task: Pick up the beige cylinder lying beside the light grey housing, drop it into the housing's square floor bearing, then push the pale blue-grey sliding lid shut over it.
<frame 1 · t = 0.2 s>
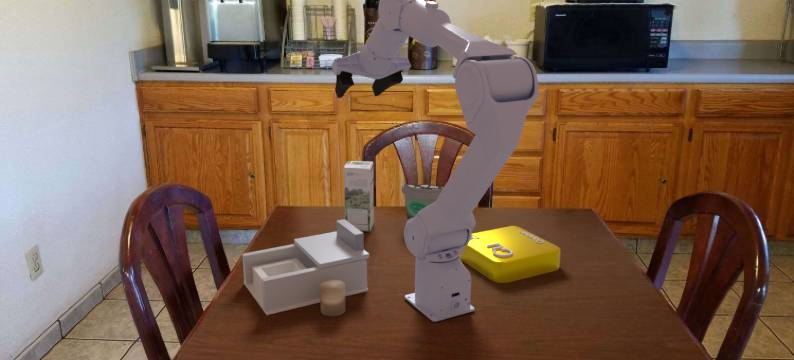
hand: (356, 92, 119), 31 cm above the table, tool tilted 50°, fingers open, 7 cm apart
housing: (305, 287, 111), on the table
beige cylinder: (333, 310, 103), on the table
lid: (330, 240, 111), point 8 cm above the table, slide at 9.0 cm
element tile: (507, 264, 122), on the table
food container: (425, 230, 138), on the table
syrup box: (359, 228, 139), on the table
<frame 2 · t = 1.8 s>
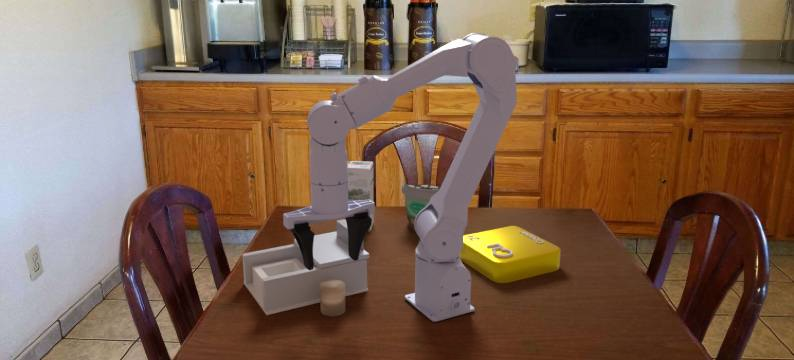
hand: (331, 262, 101), 8 cm above the table, tool pointing down, fingers open, 7 cm apart
nothing on the table moved.
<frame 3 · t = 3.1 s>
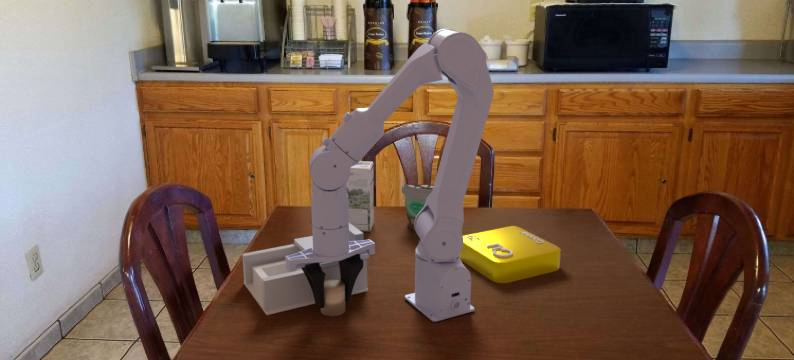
hand: (332, 302, 102), 1 cm above the table, tool pointing down, fingers closed on beige cylinder, 4 cm apart
beige cylinder: (333, 310, 103), on the table, touching gripper
everything else where it was.
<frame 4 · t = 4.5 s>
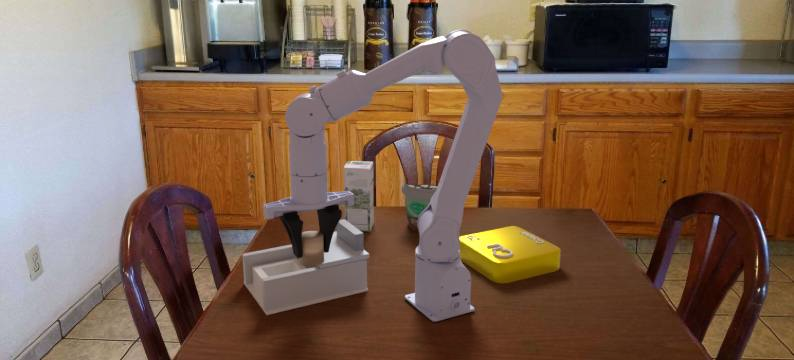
hand: (311, 252, 103), 9 cm above the table, tool pointing down, fingers closed on beige cylinder, 4 cm apart
beige cylinder: (311, 261, 103), point 8 cm above the table, touching gripper
everything else where it was.
when the fingers open (5 cm above the table, at t = 6.1 s): beige cylinder drops 3 cm, resting on housing.
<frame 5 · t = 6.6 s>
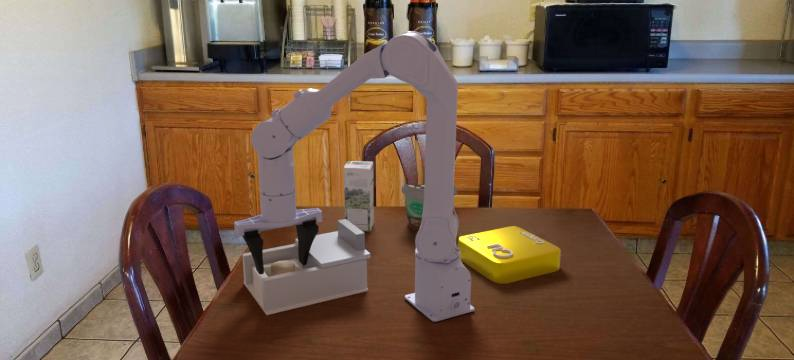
hand: (281, 267, 108), 5 cm above the table, tool pointing down, fingers open, 7 cm apart
beige cylinder: (283, 289, 109), point 1 cm above the table, touching housing
lid: (331, 240, 111), point 8 cm above the table, slide at 9.2 cm, touching gripper
everything else where it was.
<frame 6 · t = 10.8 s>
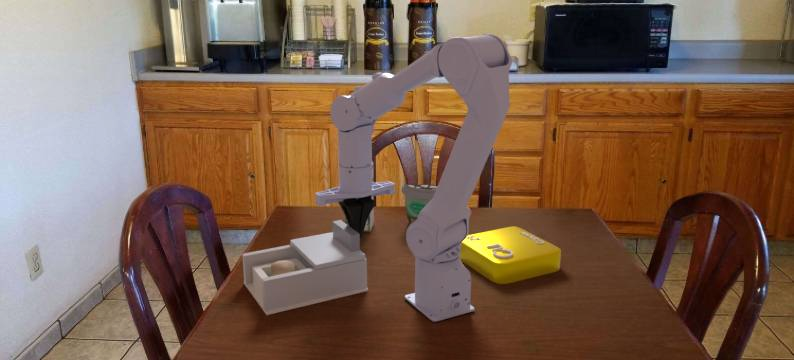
hand: (356, 237, 113), 7 cm above the table, tool pointing down, fingers closed
lid: (326, 241, 111), point 8 cm above the table, slide at 8.3 cm, touching gripper
everything else where it was.
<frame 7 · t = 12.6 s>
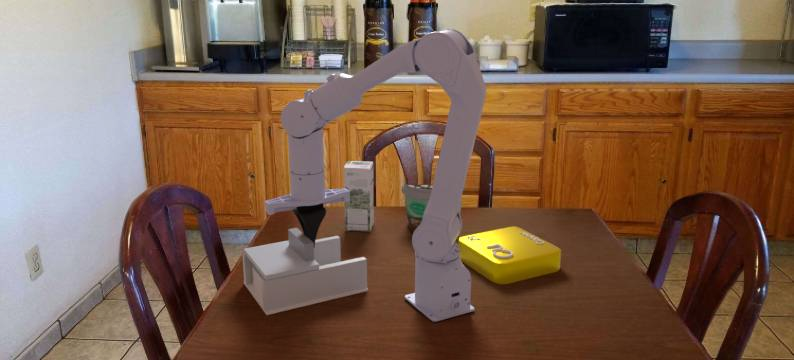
hand: (310, 246, 109), 7 cm above the table, tool pointing down, fingers closed
lid: (280, 250, 107), point 8 cm above the table, slide at -0.2 cm, touching gripper
everything else where it was.
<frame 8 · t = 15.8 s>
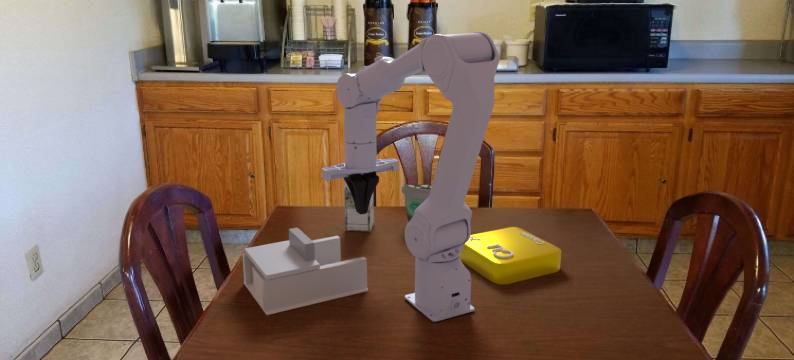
hand: (361, 212, 117), 10 cm above the table, tool pointing down, fingers closed
lid: (280, 250, 107), point 8 cm above the table, slide at 0.0 cm
everything else where it was.
at the end: beige cylinder 0.1 cm from the target spot on the housing, point 0.6 cm above the housing's base; beige cylinder tilted 2°; lid slide at 0.0 cm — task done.
